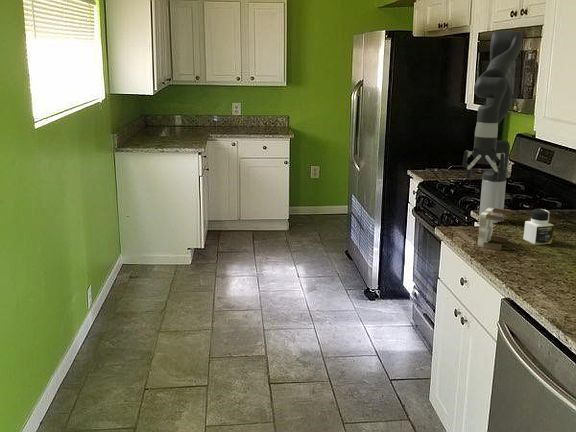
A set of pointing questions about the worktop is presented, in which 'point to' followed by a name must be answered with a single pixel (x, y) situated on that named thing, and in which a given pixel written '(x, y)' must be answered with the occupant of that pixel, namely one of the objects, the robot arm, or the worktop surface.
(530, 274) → the worktop surface
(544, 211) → the medicine bottle
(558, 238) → the worktop surface
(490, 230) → the footstool
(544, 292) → the worktop surface
